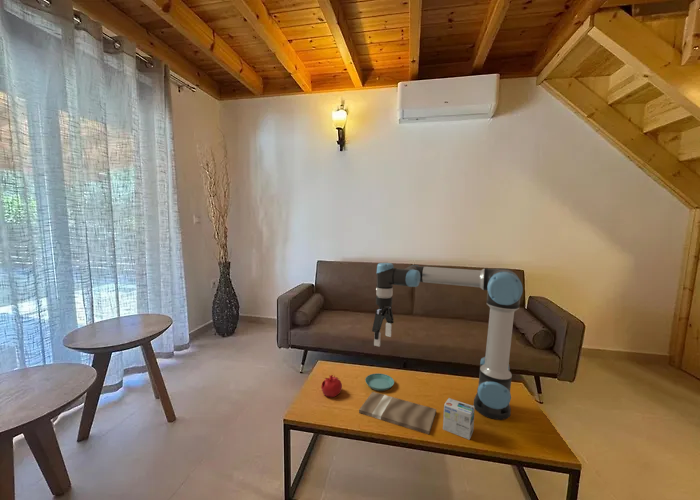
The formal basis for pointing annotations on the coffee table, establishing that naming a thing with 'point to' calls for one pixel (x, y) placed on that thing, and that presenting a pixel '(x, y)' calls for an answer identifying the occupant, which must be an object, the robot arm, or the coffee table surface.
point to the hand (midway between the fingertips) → (382, 340)
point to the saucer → (379, 381)
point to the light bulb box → (458, 418)
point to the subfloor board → (399, 412)
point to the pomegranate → (331, 386)
